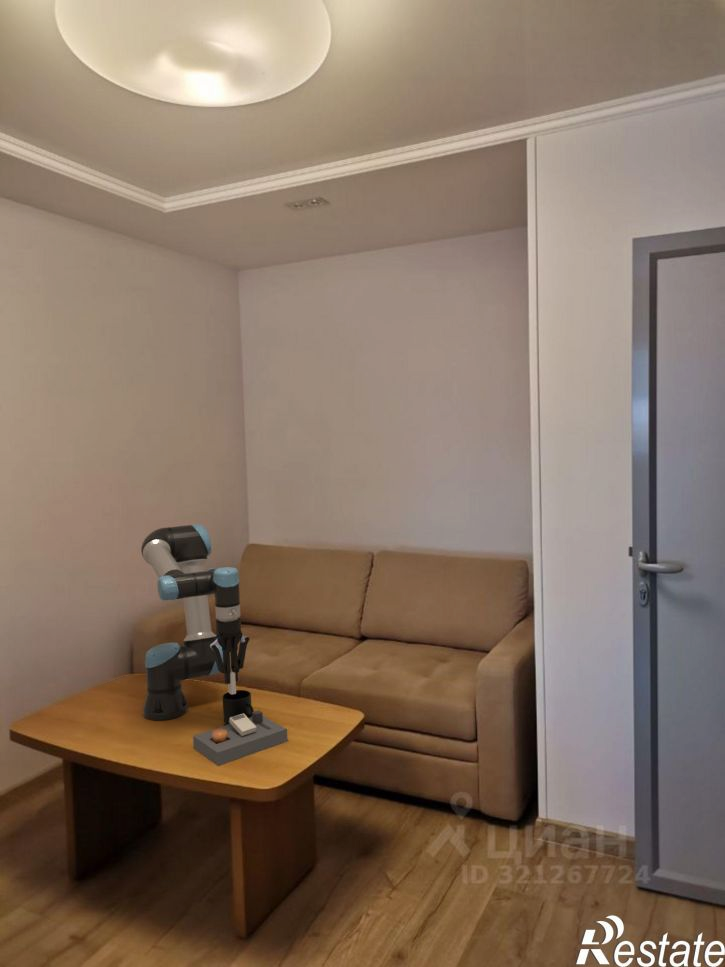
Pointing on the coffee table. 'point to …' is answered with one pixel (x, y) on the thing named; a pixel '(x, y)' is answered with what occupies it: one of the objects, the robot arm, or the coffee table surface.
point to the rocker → (242, 724)
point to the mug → (237, 705)
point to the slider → (257, 716)
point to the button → (219, 735)
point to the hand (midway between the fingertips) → (232, 692)
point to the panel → (240, 741)
